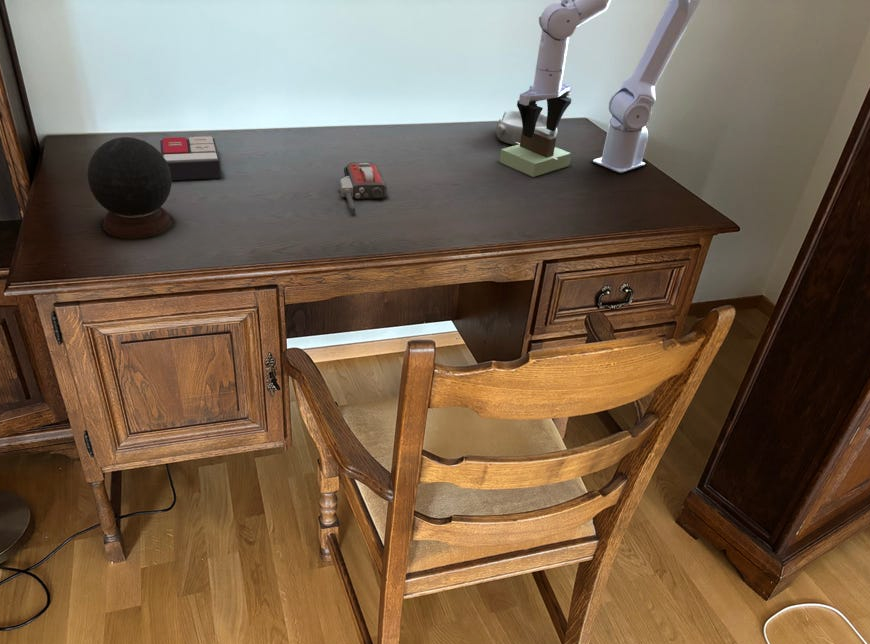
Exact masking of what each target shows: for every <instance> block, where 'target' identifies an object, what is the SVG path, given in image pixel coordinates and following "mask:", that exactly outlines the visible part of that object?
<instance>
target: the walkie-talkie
mask: <svg viewBox="0 0 870 644" xmlns="http://www.w3.org/2000/svg"><path fill="white" fill-rule="evenodd" d="M343 173H344V177H343V178H341V179H340V182H339V183H340V184H339V188H340V192H341V193H340V195H341V197H342V198H346V201H347V204H348V207H349V209H350V211H352V212H355V211H356V210H357V209H356V205H355V202H354V200H353V198H354V199H356V200H363V199H364V200H365V199H366V200H368V199H369V200H372V199H373V200H374V199H384V198H386V196H387V184H386V181H385V179H384V177H383V175H382V172H381V170H380V168H379V166H378V164H376V163H374V162H373V161H358V162H357V161H353V162H350V163H348V164H346V166H344V168H343Z"/></svg>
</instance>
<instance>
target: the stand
mask: <svg viewBox="0 0 870 644" xmlns="http://www.w3.org/2000/svg"><path fill="white" fill-rule="evenodd" d="M515 143H517V144H519V145H512V146H507V147H504V148H501V149H500V156H499V163H500V164H503V165H505V166H507V167H509V168H512V169H514V170H516V171H518V172H521V173H522V174H525V175H527V176H529V177H532V178H534V177H538V176H542V175H545V174H547V173H550V172H554V171H558V170H560V169H563V168H567V167H569V164H570V160H571V155H572V153H571V152H569V151H566V150H564V149H561V148H559V147H556V146H555V149H554V154H553V156H550V157H544V156H542V155H540V154H537V153H535V152H532V151H530V150H528V149H525V148H523V147H520V143H518V142H515Z"/></svg>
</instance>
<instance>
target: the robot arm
mask: <svg viewBox="0 0 870 644" xmlns="http://www.w3.org/2000/svg"><path fill="white" fill-rule="evenodd" d="M560 1H561V2H560V3H559V2H557V3H556V2H553V3H551V4H549V5H547V6H546V7H545V8H544V10H543V11H542V12H541V15H540V16H539V17H538V24H539V27H540V29H541V33H540V41H539V46H538V51H537V58H536V59H537V60H536V65H535V72H534V79H533V84H531V85H529V89H527V90H526V91H525V92H522V93H519V99H518V100H517V103H516V107H517V110H518V109H519V111H520V114H521V118H522V125H523V134H524V136H527V137H529V138H532V137H533V135H534V131H535V127H536V122H537V119H538V117H539V115H540V113H542V111H543V107H541V106H538V103H537V102H541V101H545V100H546V105H547V115H546V116H547V122H546V128H547V129H548V130H551V131H553V132H554V131H555V130H556V128H557V129H558V127H559V124H560V122H561V119H562V117H563V116H564V113H565V112H566V110H567V109H568V107H570V105H571V104H572V98H571V97H569V96H571V93H572V87H573V86H572V85H569V84H566V83H562V82H563V77H564V71H565V66H566V59H567V53H568V46H569V40H570V38H571V37H572V36H573V35H574V33H575V31H576V29H577V27H580V26H581V25H583V24H585V23H586V22H589V21H590V20H592V19H594V18H595V17H597V16H599V15H601V14H602V13H604V12H606V11H607V10H608V8H609V5H610V4H611V1H612V0H560ZM700 2H701V0H669V3H668V4H667V6H666V9H665V10H664V12H663V14H662V16H661V17H660V20H659V22H658V23H657V26H656V27H655V30H654V31H653V34H652V36H651V38H650V40H649V42H648V44H647V45H646V47H645V49H644V51H643V54H642V55H641V57H640V59H639V61H638V64H637V66H636V67H635V69H634V71H633V73H632V75H631V76H630V77H629V78H627V79H626V80H624V81H623V82H622V83H621V85H620V87H619V89H618V90H616V91H615V92H614V93H613V94H612V95H611V96H610V98H609V101H608V111H609V113H610V114H611V115H610V120H609V122H608V123H609V124H608V128H607V132H606V137H605V141H604V145H603V150H602V155H601V157H597V158H594V159H593V160H592V162H593V163H594V164H596V165H599V166H600V167H601V166H602V167H604V168H606V169H609V170H611V171H614V172H616V173H619V174H623V173H626V172H629V171H632V170H635V169H638V168H641V167H644V166H645V165H646V163H645V162H643V159H644V156H645V150H646V147H647V143H648V139H649V132H648V128H647V127H646V126H647V125H648V123H649V122H650V120H651V118H652V111H653V106H654V104H655V102H656V86H657V84H658V82H659V80H660V78H661V76H662V74H663V73H664V71H665V69H666V68H667V65H668V63H669V62H670V59H671V58H672V56H673V54H674V52H675V50H676V48H677V46H678V44H679V43H680V40H681V39H682V37H683V35H684V33H685V31H686V29H687V28H688V25H689V24H690V22H691V20H692V17H693V16H694V14H695V12H696V10H697V9H698V7H699V4H700Z"/></svg>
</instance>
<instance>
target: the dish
mask: <svg viewBox="0 0 870 644" xmlns="http://www.w3.org/2000/svg"><path fill="white" fill-rule="evenodd" d="M546 122H547V115H546V114H544V113H542V112H541V113H540V115H539V117H538V119H537V122H536V127H535V130H538V131H541V132H543V133H546V134H548V135H551V136H553V137H556V136H557V135H558V127H557V128H556V130H555V131H554V132H553V131H551V130H548V129H547V128H546ZM522 129H523V125H522V118H521V114H520V111H519V109H518V108H517V109H509V110H505V111H504V113H503V116H502V118H500V119H498V121H497V124H496V127H495V131H496V132H495V133H496V137H497V138H498V140H500V141H501V142H503V143H505V144H508V145H509V144H510V145H512V146H515V145H519V144H517V143H515V142H518V143H520V141H521V134H522Z"/></svg>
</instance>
